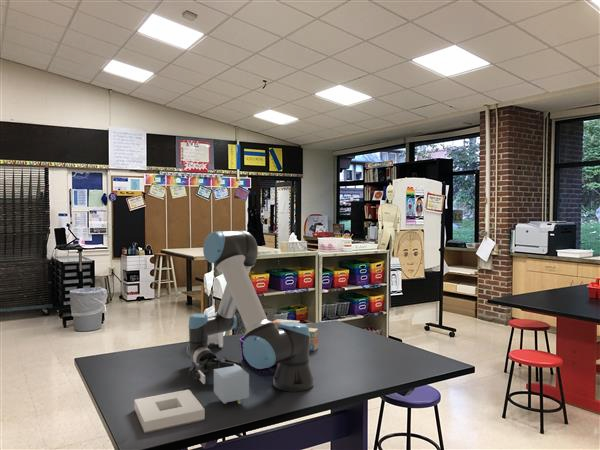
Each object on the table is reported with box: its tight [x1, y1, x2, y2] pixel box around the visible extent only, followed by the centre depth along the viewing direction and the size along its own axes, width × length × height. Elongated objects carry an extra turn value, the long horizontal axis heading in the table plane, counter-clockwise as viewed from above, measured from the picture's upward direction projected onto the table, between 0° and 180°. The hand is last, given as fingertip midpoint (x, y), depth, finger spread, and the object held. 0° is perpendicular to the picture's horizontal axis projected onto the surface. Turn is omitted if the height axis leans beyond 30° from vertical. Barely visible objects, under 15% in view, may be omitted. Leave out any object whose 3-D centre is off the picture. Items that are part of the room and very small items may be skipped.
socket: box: [134, 389, 206, 434], centre depth 147 cm, size 18×18×4 cm
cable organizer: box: [207, 332, 224, 348], centre depth 221 cm, size 15×11×12 cm
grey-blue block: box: [213, 365, 250, 405], centre depth 157 cm, size 10×9×10 cm
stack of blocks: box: [272, 318, 319, 352], centre depth 220 cm, size 21×6×12 cm, turn 71°
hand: (222, 376), depth 163 cm, fingers open, 13 cm apart
